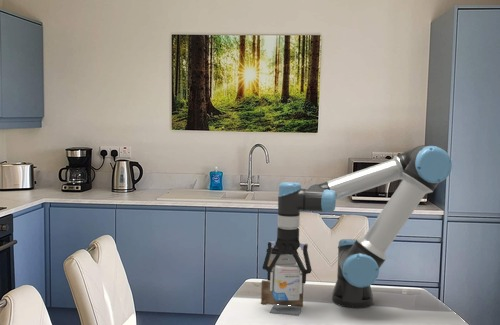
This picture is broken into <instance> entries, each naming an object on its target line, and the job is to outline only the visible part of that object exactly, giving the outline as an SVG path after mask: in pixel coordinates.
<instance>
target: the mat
mask: <svg viewBox="0 0 500 325" xmlns="http://www.w3.org/2000/svg"><path fill="white" fill-rule="evenodd" d="M302 309H303V307H298V306H288V305H277V304H272V307H271V309H270V310H269V313H270V314H278V315H285V314H286V315H289V316H296V317H299V316H300V314H301V312H302Z"/></svg>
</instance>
